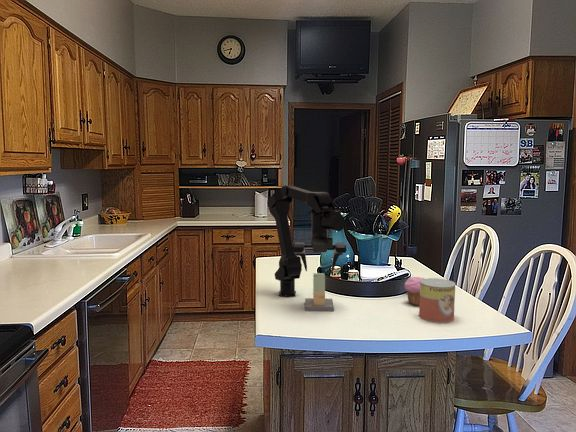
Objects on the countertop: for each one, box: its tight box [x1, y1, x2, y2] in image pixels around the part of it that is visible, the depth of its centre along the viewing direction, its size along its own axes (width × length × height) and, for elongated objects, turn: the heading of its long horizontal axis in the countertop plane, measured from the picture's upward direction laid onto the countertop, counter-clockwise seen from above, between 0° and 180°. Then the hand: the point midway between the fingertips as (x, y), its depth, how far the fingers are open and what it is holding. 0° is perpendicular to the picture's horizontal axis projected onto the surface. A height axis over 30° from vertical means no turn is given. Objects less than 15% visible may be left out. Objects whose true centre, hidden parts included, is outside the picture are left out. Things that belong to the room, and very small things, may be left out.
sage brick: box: [312, 272, 326, 292], centre depth 166 cm, size 6×4×5 cm, turn 178°
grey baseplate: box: [304, 297, 335, 312], centre depth 167 cm, size 10×10×2 cm
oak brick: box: [312, 288, 326, 305], centre depth 167 cm, size 6×4×5 cm, turn 178°
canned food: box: [418, 277, 456, 324], centre depth 155 cm, size 11×11×12 cm
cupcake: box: [404, 276, 426, 306], centre depth 170 cm, size 9×9×10 cm
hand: (319, 271), depth 166 cm, fingers open, 9 cm apart
